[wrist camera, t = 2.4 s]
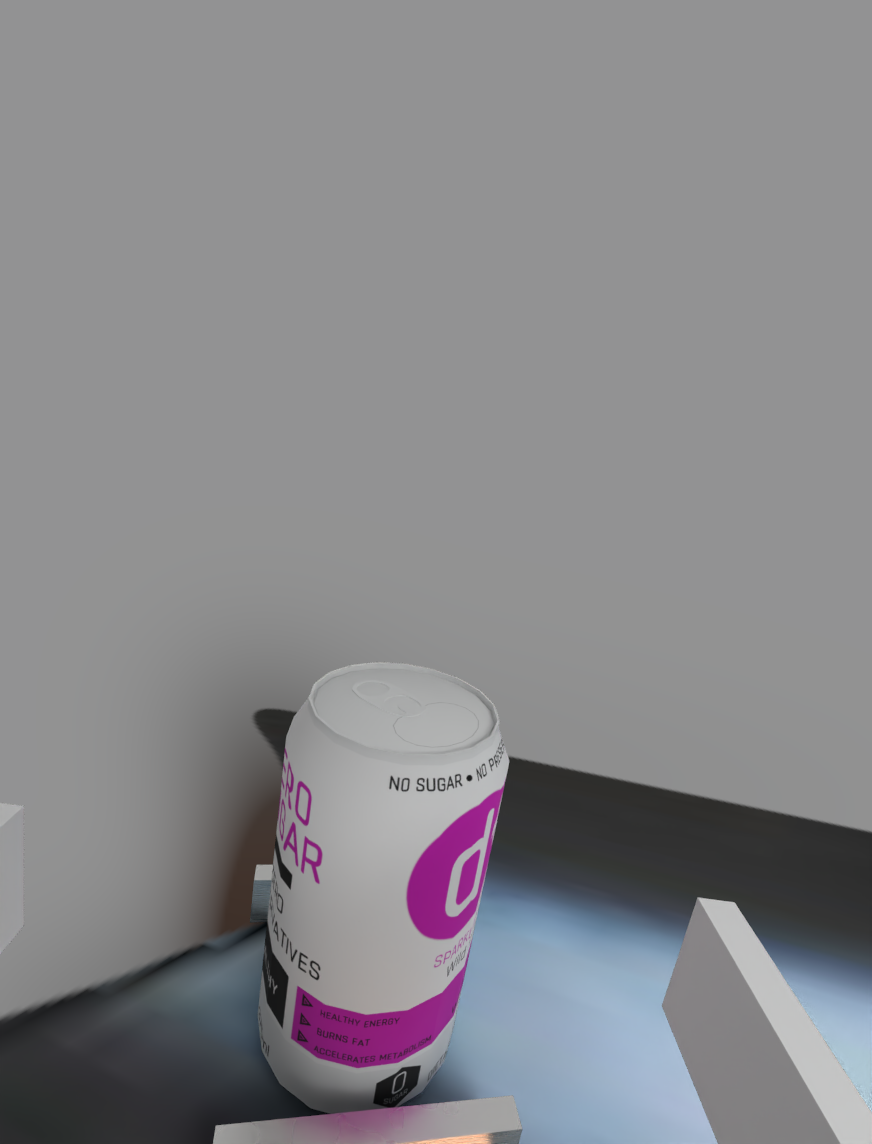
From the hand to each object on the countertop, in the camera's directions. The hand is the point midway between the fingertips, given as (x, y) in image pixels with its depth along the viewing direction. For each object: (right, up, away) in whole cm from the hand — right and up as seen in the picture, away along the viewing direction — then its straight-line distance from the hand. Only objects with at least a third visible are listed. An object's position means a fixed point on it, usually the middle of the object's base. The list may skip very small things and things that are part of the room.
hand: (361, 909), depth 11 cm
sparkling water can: (-2, -13, +13) cm, 19 cm away
